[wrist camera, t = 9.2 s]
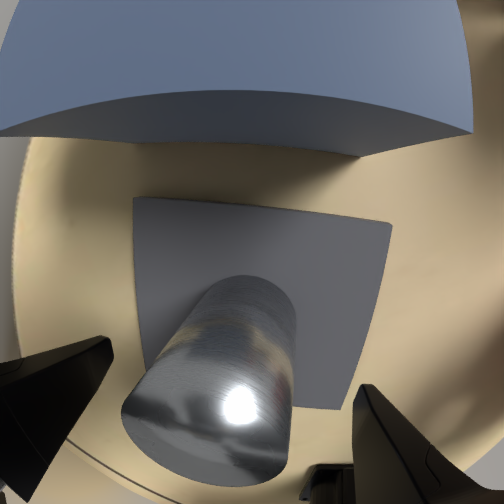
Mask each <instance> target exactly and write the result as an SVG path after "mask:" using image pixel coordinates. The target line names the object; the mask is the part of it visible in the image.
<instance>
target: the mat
mask: <svg viewBox="0 0 504 504" xmlns="http://www.w3.org/2000/svg"><path fill="white" fill-rule="evenodd" d="M392 226H393V225H391V224H390V223H387V222H381V221H375V220H368V219H361V218H354V217H348V216H340V215H333V214H326V213H318V212H310V211H302V210H293V209H285V208H276V207H267V206H257V205H247V204H237V203H226V202H214V201H202V200H188V199H174V198H158V197H135V198H133V244H134V268H135V283H136V296H137V307H138V317H139V326H140V334H141V342H142V349H143V356H144V362H145V368H146V371H147V370H148V369H149V367H150V366H151V365H152V363H153V362H154V361H155V359H156V358H157V357H158V355H159V354H160V353H161V351H162V350H163V349H164V347H165V346H166V345H167V343H168V342H169V341H170V339H171V338H172V337H173V335H174V334H175V333H176V331H177V330H178V329H179V328H180V326H181V325H182V324H183V322H184V321H185V320H186V318H187V317H188V316H189V314H190V313H191V312H192V310H193V309H194V308H195V306H196V305H197V304H198V302H199V301H200V300H201V299H202V297H203V296H204V295H205V293H206V292H207V291H208V290H209V288H210V287H212V286H213V285H214V284H215V283H217V282H218V281H220V280H222V279H224V278H227V277H230V276H236V275H251V276H256V277H260V278H263V279H266V280H268V281H270V282H272V283H273V284H275V285H277V286H278V287H279V288H280V289H281V290H283V292H284V293H285V294H286V295H287V296H288V297H289V299H290V300H291V302H292V304H293V306H294V309H295V312H296V317H297V333H296V355H295V374H294V390H293V404H292V406H295V407H305V408H316V409H331V410H340V409H341V407H342V404H343V402H344V399H345V397H346V394H347V392H348V389H349V386H350V384H351V381H352V378H353V376H354V373H355V370H356V367H357V364H358V361H359V358H360V355H361V352H362V349H363V346H364V343H365V340H366V337H367V333H368V330H369V326H370V323H371V320H372V316H373V312H374V309H375V305H376V301H377V297H378V293H379V289H380V285H381V281H382V277H383V272H384V268H385V263H386V258H387V253H388V248H389V243H390V237H391V232H392Z"/></svg>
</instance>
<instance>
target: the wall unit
mask: <svg viewBox="0 0 504 504" xmlns="http://www.w3.org/2000/svg"><path fill="white" fill-rule="evenodd" d="M472 133H473V99H472V85H471V75H470V66H469V59H468V52H467V46H466V40H465V35H464V30H463V25H462V21H461V17H460V12H459V9H458V5H457V1H456V0H19V3H18V5H17V7H16V9H15V12H14V14H13V17H12V19H11V22H10V25H9V27H8V30H7V33H6V36H5V38H4V42H3V44H2V48H1V51H0V137H61V138H79V139H93V140H105V141H116V142H126V143H155V142H217V143H241V144H257V145H271V146H282V147H292V148H302V149H310V150H318V151H326V152H333V153H340V154H347V155H353V156H359V157H364V156H368V155H372V154H376V153H380V152H384V151H388V150H393V149H397V148H401V147H406V146H410V145H415V144H420V143H424V142H429V141H434V140H439V139H444V138H450V137H455V136H461V135H466V134H472Z"/></svg>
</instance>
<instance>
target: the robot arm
mask: <svg viewBox="0 0 504 504" xmlns="http://www.w3.org/2000/svg"><path fill="white" fill-rule="evenodd" d="M113 359H114V354H113V349H112V344H111V340H110V339H109V338H108V337H105V336H102V335H99V336H96V337H93V338H89V339H86V340H83V341H79V342H76V343H73V344H69V345H66V346H63V347H59V348H56V349H52V350H49V351H45V352H42V353H38V354H35V355H31V356H28V357H26V358H25V357H24V358H20V359H17V360H12V361H8V362H3V363H0V504H7V503H6V498H5V494H4V492H2V490H3V488H4V487H5V486H6V485H7V486H8V487H9V488H10V489H12V490H13V491H14V492H15V493H16V494H18V496H19V497H21V498H22V499H23V500H24V501H25V502H27V503H28V502H29V500H30V499H31V497H32V495H33V493H34V492H35V489H36V488H37V486H38V484H39V483H40V481H41V479H42V478H43V476H44V474H45V472H46V471H47V469H48V467H49V465H50V464H51V462H52V460H53V459H54V457H55V455H56V454H57V452H58V451H59V449H60V447H61V445H62V444H63V443H64V441H65V439H66V438H67V436H68V435H69V433H70V431H71V430H72V428H73V427H74V425H75V424H76V422H77V420H78V419H79V417H80V416H81V414H82V413H83V411H84V410H85V408H86V407H87V405H88V404H89V402H90V401H91V399H92V398H93V396H94V395H95V393H96V392H97V390H98V388H99V386H100V385H101V383H102V381H103V379H104V377H105V375H106V373H107V371H108V369H109V367H110V366H111V364H112V362H113ZM352 451H353V462H354V465H319V466H316V467H315V468H314V470H313V472H312V474H311V476H310V478H309V480H308V481H307V483H306V485H305V487H304V488H303V490H302V492H301V494H300V496H299V500H301V501H310V504H504V490H491V489H487V488H484V487H482V486H480V485H479V484H477V483H476V482H475V481H474V480H472V479H471V478H470V477H468V476H467V475H466V474H465V473H463V472H462V471H461V470H459V469H458V468H457V467H456V466H455V465H453V464H452V463H451V462H450V461H449V460H447V459H446V458H445V457H444V456H443V455H442V454H441V453H440V452H439V451H438V450H437V449H436V448H435V447H434V446H433V445H432V444H431V445H430V442H429V441H428V440H427V439H426V438H425V437H424V436H423V435H422V434H421V433H420V432H419V431H418V430H417V429H416V428H415V427H414V426H413V425H412V424H411V423H410V422H409V421H408V420H407V419H406V418H405V417H404V416H403V415H402V414H401V413H400V412H399V411H398V410H397V409H396V408H395V406H394V405H393V404H392V403H391V402H390V401H389V400H388V399H387V398H386V397H385V396H384V395H383V394H382V393H381V392H380V391H379V390H378V389H377V388H376V387H375V386H374V385H372V384H362V385H360V387H359V389H358V392H357V394H356V397H355V399H354V402H353V419H352Z"/></svg>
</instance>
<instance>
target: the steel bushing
mask: <svg viewBox="0 0 504 504" xmlns="http://www.w3.org/2000/svg"><path fill="white" fill-rule="evenodd" d="M296 333H297V317H296V312H295V309H294V306H293V304H292V302H291V300H290V299H289V297H288V296H287V295H286V294H285V293H284V292H283V290H281V289H280V288H279V287H278V286H277V285H275V284H273V283H272V282H270V281H268V280H266V279H263V278H260V277H256V276H251V275H236V276H230V277H227V278H224V279H222V280H220V281H218V282H217V283H215V284H214V285H213V286H212V287H210V288H209V290H208V291H207V292H206V293H205V295H204V296H203V297H202V299H201V300H200V301H199V302H198V304H197V305H196V306H195V308H194V309H193V310H192V312H191V313H190V314H189V316H188V317H187V318H186V320H185V321H184V322H183V324H182V325H181V326H180V328H179V329H178V330H177V331H176V333H175V334H174V335H173V337H172V338H171V339H170V341H169V342H168V343H167V345H166V346H165V347H164V349H163V350H162V351H161V353H160V354H159V355H158V357H157V358H156V359H155V361H154V362H153V363H152V365H151V366H150V367H149V369H148V370H147V371H146V373H145V374H144V375H143V377H142V378H141V379H140V381H139V382H138V384H137V385H136V386H135V388H134V389H133V390H132V392H131V393H130V394H129V396H128V397H127V398H126V400H125V401H124V403H123V405H122V409H121V419H122V422H123V425H124V428H125V430H126V432H127V433H128V435H129V437H130V438H131V439H132V441H133V442H134V443H135V444H136V445H137V447H138V448H139V449H140V450H141V451H143V452H144V453H145V454H146V455H147V456H148V457H150V458H151V459H152V460H154V461H155V462H157V463H158V464H159V465H161V466H163V467H165V468H166V469H168V470H170V471H172V472H174V473H176V474H178V475H181V476H183V477H186V478H188V479H191V480H194V481H198V482H201V483H206V484H210V485H216V486H226V487H243V486H251V485H257V484H260V483H264V482H266V481H269V480H271V479H273V478H274V477H276V476H277V475H278V474H280V473H281V472H282V470H283V469H284V468H285V466H286V464H287V460H288V451H289V441H290V430H291V418H292V404H293V390H294V374H295V355H296Z"/></svg>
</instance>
